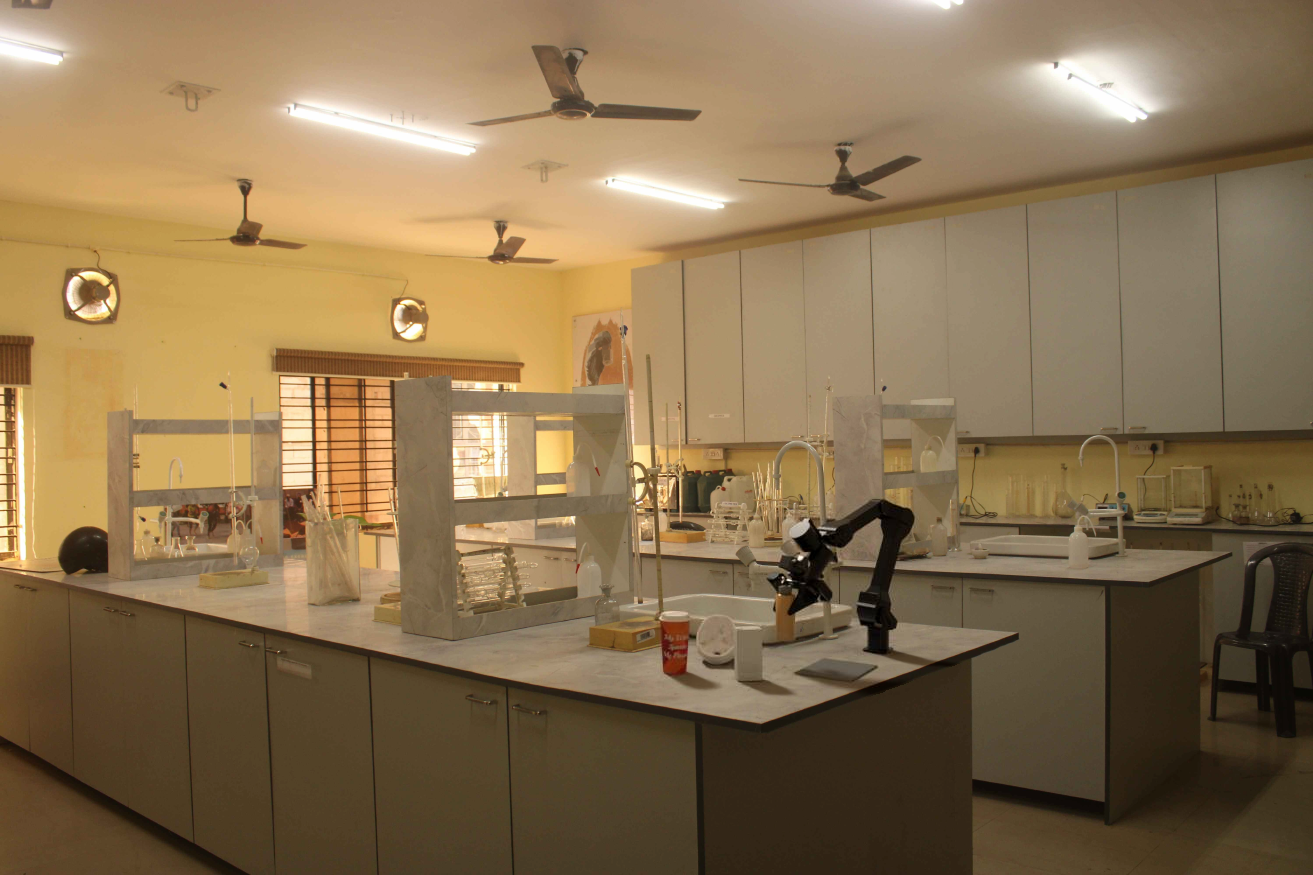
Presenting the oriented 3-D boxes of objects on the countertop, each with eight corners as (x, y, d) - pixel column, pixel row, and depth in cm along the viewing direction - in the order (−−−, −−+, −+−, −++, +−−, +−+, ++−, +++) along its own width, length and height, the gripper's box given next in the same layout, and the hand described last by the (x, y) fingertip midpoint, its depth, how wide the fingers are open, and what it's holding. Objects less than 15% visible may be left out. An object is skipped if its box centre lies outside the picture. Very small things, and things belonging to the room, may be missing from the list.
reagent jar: (780, 636, 238) (780, 584, 238) (798, 638, 235) (798, 585, 235) (772, 639, 234) (772, 586, 234) (790, 642, 231) (790, 588, 231)
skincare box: (759, 676, 225) (759, 625, 225) (763, 681, 220) (763, 628, 220) (733, 677, 224) (733, 625, 224) (736, 682, 220) (736, 629, 220)
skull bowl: (742, 647, 250) (740, 612, 244) (737, 687, 239) (735, 651, 232) (702, 645, 252) (699, 610, 246) (695, 684, 241) (692, 649, 234)
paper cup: (663, 676, 224) (664, 616, 224) (655, 668, 232) (655, 611, 232) (695, 674, 226) (695, 615, 227) (685, 667, 234) (686, 609, 234)
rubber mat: (823, 659, 243) (823, 657, 243) (877, 666, 236) (877, 664, 236) (795, 673, 228) (795, 672, 228) (851, 681, 220) (851, 680, 220)
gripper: (771, 540, 245) (738, 586, 238) (824, 546, 229) (790, 596, 223) (794, 568, 249) (762, 615, 243) (847, 576, 234) (814, 626, 227)
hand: (781, 612), depth 234 cm, fingers closed on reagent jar, 5 cm apart
